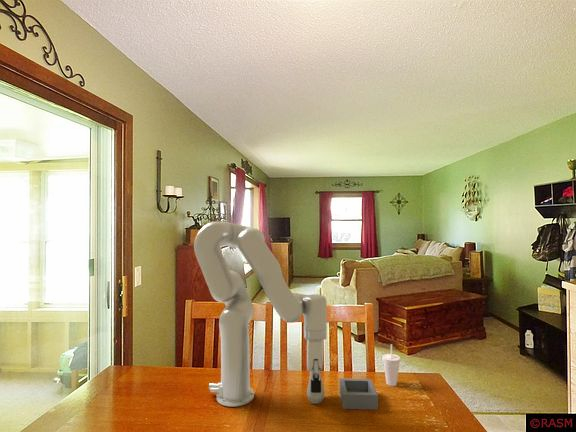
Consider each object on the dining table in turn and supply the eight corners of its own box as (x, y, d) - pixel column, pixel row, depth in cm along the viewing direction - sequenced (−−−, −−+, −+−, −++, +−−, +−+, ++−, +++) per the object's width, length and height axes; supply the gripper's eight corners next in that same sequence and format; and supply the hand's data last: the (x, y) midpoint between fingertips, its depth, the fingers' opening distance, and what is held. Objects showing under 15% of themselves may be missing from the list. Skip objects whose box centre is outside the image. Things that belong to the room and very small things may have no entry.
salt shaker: (323, 406, 111) (323, 365, 111) (305, 404, 112) (305, 364, 112) (325, 397, 117) (324, 358, 117) (308, 395, 118) (308, 357, 118)
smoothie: (401, 381, 128) (401, 343, 128) (399, 389, 122) (399, 349, 122) (383, 378, 130) (383, 341, 131) (381, 385, 125) (380, 346, 125)
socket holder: (342, 408, 110) (342, 394, 110) (339, 391, 121) (339, 378, 121) (378, 409, 109) (377, 395, 109) (371, 392, 120) (371, 379, 120)
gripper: (304, 324, 124) (304, 373, 124) (303, 342, 106) (304, 398, 106) (325, 324, 123) (325, 373, 123) (328, 342, 106) (328, 399, 106)
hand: (315, 385), depth 115 cm, fingers open, 8 cm apart
